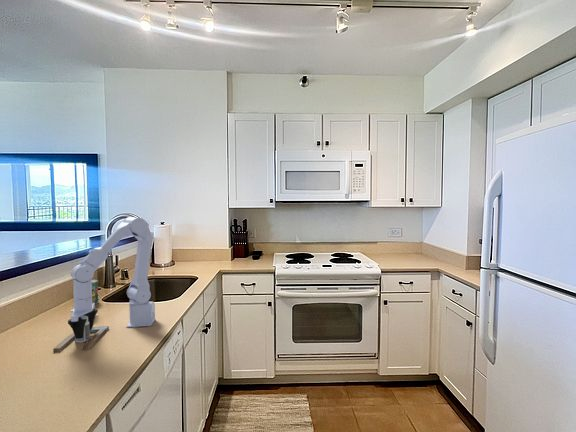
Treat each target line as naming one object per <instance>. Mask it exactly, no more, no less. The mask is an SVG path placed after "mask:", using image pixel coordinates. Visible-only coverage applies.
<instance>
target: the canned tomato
mask: <svg viewBox="0 0 576 432" xmlns="http://www.w3.org/2000/svg"><path fill="white" fill-rule="evenodd" d="M91 284H92V288H93V289H94V290H93V292H94V295H95V305H97V304H98V303H99V285H98V284H99V280H98V279H91Z"/></svg>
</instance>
